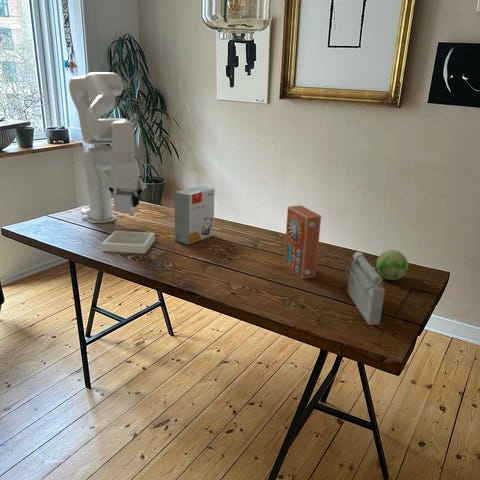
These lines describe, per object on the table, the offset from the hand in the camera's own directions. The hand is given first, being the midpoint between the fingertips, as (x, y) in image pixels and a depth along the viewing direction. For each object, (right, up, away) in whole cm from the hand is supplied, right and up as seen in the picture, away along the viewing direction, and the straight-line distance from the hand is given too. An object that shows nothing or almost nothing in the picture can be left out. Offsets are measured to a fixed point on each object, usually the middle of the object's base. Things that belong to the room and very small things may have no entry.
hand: (127, 205), depth 167 cm
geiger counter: (+77, -32, -33) cm, 89 cm away
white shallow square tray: (0, -15, +6) cm, 16 cm away
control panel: (+62, -24, -12) cm, 67 cm away
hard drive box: (+23, -12, +15) cm, 31 cm away
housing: (0, -1, 0) cm, 1 cm away
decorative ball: (+92, -26, -16) cm, 97 cm away
